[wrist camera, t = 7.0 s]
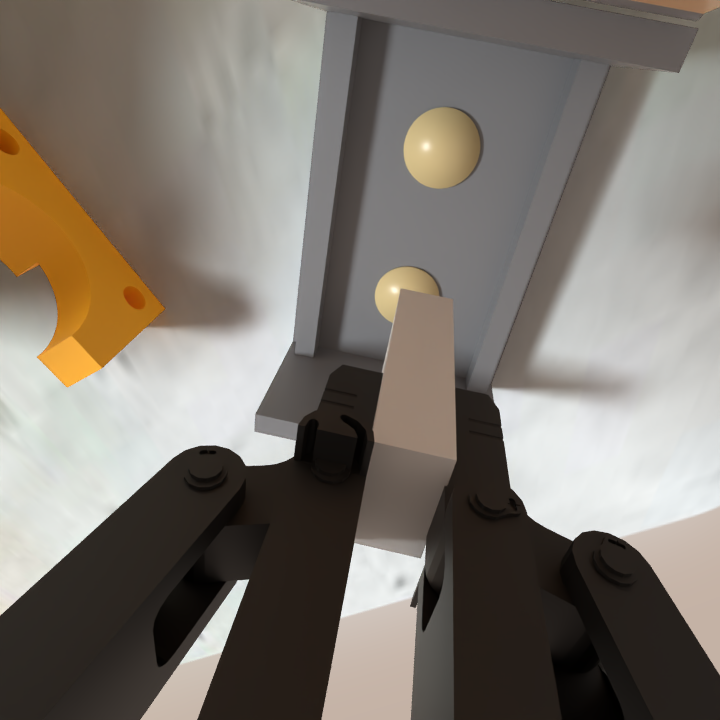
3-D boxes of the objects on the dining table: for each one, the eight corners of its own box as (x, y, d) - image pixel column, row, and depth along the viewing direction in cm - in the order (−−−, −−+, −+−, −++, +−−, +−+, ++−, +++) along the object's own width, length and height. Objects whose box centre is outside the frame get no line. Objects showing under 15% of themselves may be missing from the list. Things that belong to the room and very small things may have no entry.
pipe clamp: (-47, 154, 26) (-179, 182, 20) (1, 107, 24) (-127, 124, 19) (116, 337, 30) (45, 399, 25) (166, 307, 29) (102, 368, 23)
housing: (296, 347, 29) (254, 431, 22) (334, -18, 20) (283, -50, 13) (484, 388, 28) (496, 484, 22) (614, 35, 19) (698, 28, 13)
